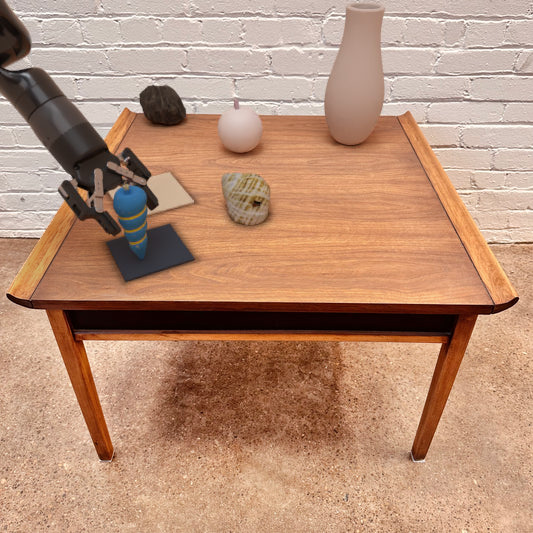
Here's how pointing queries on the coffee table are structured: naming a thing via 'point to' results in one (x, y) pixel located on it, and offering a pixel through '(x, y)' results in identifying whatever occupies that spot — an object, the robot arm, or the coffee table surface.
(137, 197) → the ornament
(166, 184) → the cream mat
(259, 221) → the seashell
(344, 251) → the coffee table surface
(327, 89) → the vase
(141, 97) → the rock
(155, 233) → the slate mat
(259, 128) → the ornament
